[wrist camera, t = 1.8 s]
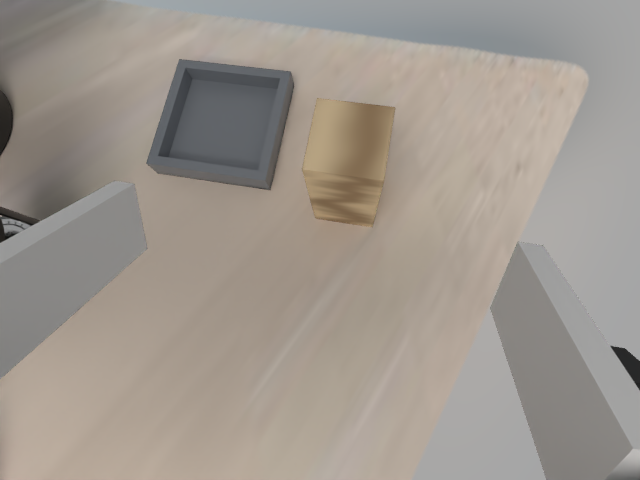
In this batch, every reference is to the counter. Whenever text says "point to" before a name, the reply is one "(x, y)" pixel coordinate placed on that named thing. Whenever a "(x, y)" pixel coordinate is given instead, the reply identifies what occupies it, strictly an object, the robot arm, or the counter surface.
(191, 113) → the slate tray
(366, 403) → the counter surface
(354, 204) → the oak block
